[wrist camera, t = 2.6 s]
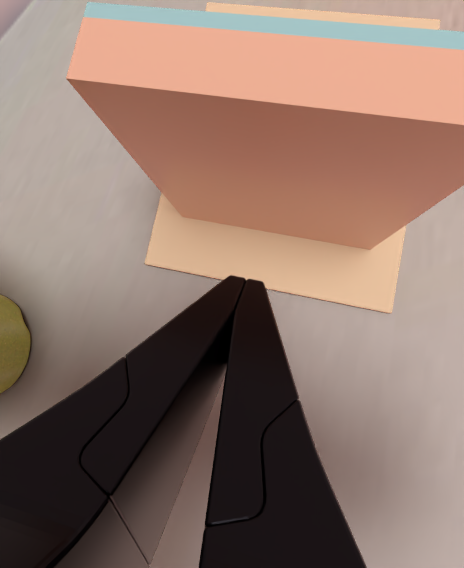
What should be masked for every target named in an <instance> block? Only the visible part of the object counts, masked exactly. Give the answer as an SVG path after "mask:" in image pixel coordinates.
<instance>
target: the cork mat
mask: <svg viewBox="0 0 464 568" xmlns="http://www.w3.org/2000/svg"><path fill="white" fill-rule="evenodd" d="M205 11H207V12H220V13H232V14H245V15H258V16H270V17H283V18H295V19H308V20H321V21H333V22H346V23H358V24H371V25H384V26H396V27H409V28H421V29H434V30H439V26H440V20H436V19H423V18H409V17H396V16H383V15H369V14H356V13H343V12H330V11H316V10H303V9H290V8H276V7H263V6H250V5H236V4H223V3H210V2H207V6H206V10H205ZM405 230H406V225H405V226H404V227H402V228H401V229H400V230H398V231H397V232H395V233H394V234H392V235H391V236H389V237H388V238H387V239H385V240H384V241H382V242H381V243H379V244H378V245H377V246H375V247H374V248H372V249H371V250H368V249H362V248H356V247H351V246H345V245H339V244H334V243H328V242H322V241H316V240H311V239H305V238H299V237H294V236H288V235H282V234H277V233H271V232H265V231H259V230H254V229H248V228H242V227H237V226H231V225H225V224H219V223H214V222H208V221H202V220H197V219H191V218H185V217H182V216H181V215H180V214H179V212H178V211H177V210H176V209H175V208H174V206H173V205H172V204H171V203H170V202H169V200H168V199H167V198H166V197H165V196H164V194H163V193H161V197H160V201H159V205H158V210H157V214H156V218H155V222H154V226H153V230H152V234H151V239H150V243H149V247H148V251H147V255H146V259H145V263H144V264H146V265H151V266H156V267H161V268H166V269H171V270H176V271H181V272H186V273H191V274H195V275H200V276H205V277H210V278H215V279H220V280H224V279H225V278H227V277H228V276H230V275H234V276H239V277H244V278H245V279H246V280H247V279H254V280H259V281H263V282H264V284H265V288H266V289H270V290H275V291H280V292H285V293H290V294H295V295H300V296H305V297H310V298H315V299H320V300H325V301H330V302H335V303H340V304H345V305H350V306H355V307H360V308H365V309H370V310H375V311H380V312H385V313H392V308H393V302H394V296H395V290H396V284H397V278H398V272H399V266H400V260H401V254H402V248H403V242H404V236H405Z"/></svg>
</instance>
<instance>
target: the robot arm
mask: <svg viewBox="0 0 464 568" xmlns="http://www.w3.org/2000/svg"><path fill="white" fill-rule="evenodd" d="M225 373H226V374H225ZM224 375H225V382H224V389H223V396H222V403H221V411H220V418H219V425H218V432H217V439H216V447H215V454H214V461H213V468H212V476H211V483H210V490H209V497H208V505H207V512H206V519H205V530H204V534H203V541H202V548H201V555H200V562H199V568H367V567H366V565H365V562H364V560H363V558H362V555H361V553H360V551H359V548H358V546H357V544H356V542H355V539H354V537H353V535H352V532H351V530H350V528H349V526H348V523H347V521H346V519H345V516H344V514H343V512H342V510H341V507H340V505H339V503H338V500H337V498H336V496H335V494H334V491H333V489H332V487H331V484H330V482H329V480H328V477H327V475H326V472H325V470H324V467H323V465H322V462H321V460H320V457H319V455H318V452H317V450H316V447H315V444H314V441H313V439H312V436H311V433H310V430H309V427H308V424H307V421H306V418H305V415H304V411H303V408H302V405H301V402H300V401H299V396H298V392H297V389H296V386H295V383H294V379H293V376H292V373H291V369H290V366H289V363H288V360H287V356H286V353H285V350H284V346H283V343H282V340H281V337H280V333H279V330H278V327H277V324H276V320H275V317H274V314H273V310H272V307H271V304H270V301H269V297H268V294H267V291H266V288H265V284H264V282H263V281H259V280H254V279H247V280H246V279H245V278H244V277H239V276H234V275H230V276H228V277H227V278H225V279H224V280H223V281H221V282H220V283H219V284H217V285H216V286H215V287H214V288H212V289H211V290H210V291H208V292H207V293H206V294H204V295H203V296H202V297H201V298H199V299H198V300H197V301H195V302H194V303H193V304H191V305H190V306H189V307H188V308H186V309H185V310H184V311H182V312H181V313H180V314H178V315H177V316H176V317H174V318H173V319H172V320H171V321H169V322H168V323H167V324H165V325H164V326H163V327H161V328H160V329H159V330H158V331H156V332H155V333H154V334H152V335H151V336H150V337H148V338H147V339H146V340H145V341H143V342H142V343H141V344H139V345H138V346H137V347H135V348H134V349H133V350H132V351H130V352H129V353H128V354H126V358H125V357H122V358H121V359H120V360H118V361H117V362H116V363H114V364H113V365H112V366H110V367H109V368H108V369H106V370H105V371H104V372H102V373H101V374H100V375H98V376H97V377H95V378H94V379H93V380H91V381H90V382H89V383H87V384H86V385H85V386H83V387H82V388H80V389H79V390H77V391H76V392H74V393H72V394H71V395H69V396H68V397H66V398H65V399H63V400H62V401H60V402H59V403H57V404H56V405H54V406H53V407H51V408H50V409H48V410H46V411H45V412H43V413H42V414H40V415H39V416H37V417H35V418H34V419H32V420H31V421H29V422H27V423H26V424H24V425H23V426H21V427H20V428H18V429H16V430H15V431H13V432H12V433H10V434H9V435H7V436H5V437H4V438H2V439H1V440H0V568H149V565H148V564H150V563H151V561H152V559H153V556H154V553H155V551H156V548H157V546H158V543H159V541H160V538H161V536H162V533H163V531H164V528H165V525H166V523H167V520H168V518H169V515H170V513H171V510H172V508H173V505H174V503H175V500H176V497H177V495H178V492H179V490H180V487H181V485H182V482H183V480H184V477H185V475H186V472H187V470H188V467H189V464H190V462H191V459H192V457H193V454H194V452H195V449H196V447H197V444H198V442H199V439H200V436H201V434H202V431H203V429H204V426H205V424H206V421H207V419H208V416H209V414H210V411H211V408H212V406H213V403H214V401H215V398H216V396H217V393H218V391H219V388H220V386H221V383H222V381H223V378H224Z"/></svg>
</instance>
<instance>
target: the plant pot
mask: <svg viewBox="0 0 464 568" xmlns="http://www.w3.org/2000/svg"><path fill="white" fill-rule="evenodd" d="M29 351H30V333H29V330H28V329H27V327H26V325H25V323H24V321H23V318H22V315H21V310H20V308H19V307H18V306H17V305H16V304H15V303H14V302H13V301H11V300H10V299H8V298H7V297H5V296H3V295H0V394H1V393H2V392H4V391H5V390H7V389H8V388H10V387H11V386H12V385H13V384H14V383H15V382H16V380H17V379H18V378H19V376H20V375H21V373H22V371H23V369H24V367H25V365H26V363H27V360H28V356H29Z"/></svg>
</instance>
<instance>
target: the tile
mask: <svg viewBox="0 0 464 568" xmlns="http://www.w3.org/2000/svg"><path fill="white" fill-rule="evenodd" d="M66 79H67V80H68V81H69V82H70V84H71V85H72V86H73V87H74V88H75V90H76V91H77V92H78V93H79V94H80V95H81V97H82V98H83V99H84V100H85V101H86V103H87V104H88V105H89V106H90V107H91V109H92V110H93V111H94V112H95V113H96V115H97V116H98V117H99V118H100V119H101V121H102V122H103V123H104V124H105V125H106V126H107V128H108V129H109V130H110V131H111V132H112V134H113V135H114V136H115V137H116V138H117V140H118V141H119V142H120V143H121V144H122V146H123V147H124V148H125V149H126V150H127V152H128V153H129V154H130V155H131V156H132V158H133V159H134V160H135V161H136V162H137V163H138V165H139V166H140V167H141V168H142V169H143V171H144V172H145V173H146V174H147V175H148V177H149V178H150V179H151V180H152V181H153V183H154V184H155V185H156V186H157V187H158V189H159V190H160V191H161V192H162V193H163V194H164V196H165V197H166V198H167V199H168V200H169V202H170V203H171V204H172V205H173V206H174V208H175V209H176V210H177V211H178V212H179V214H180V215H181V216H182V217H185V218H191V219H197V220H202V221H208V222H214V223H219V224H225V225H231V226H237V227H242V228H248V229H254V230H259V231H265V232H271V233H277V234H282V235H288V236H294V237H299V238H305V239H311V240H316V241H322V242H328V243H334V244H339V245H345V246H351V247H356V248H362V249H368V250H371V249H372V248H374V247H375V246H377V245H378V244H379V243H381V242H382V241H384V240H385V239H387V238H388V237H389V236H391V235H392V234H394V233H395V232H397V231H398V230H400V229H401V228H402V227H404V226H405V225H407V224H408V223H410V222H411V221H412V220H414V219H415V218H417V217H418V216H420V215H421V214H423V213H424V212H425V211H427V210H428V209H430V208H431V207H433V206H434V205H435V204H437V203H438V202H440V201H441V200H443V199H444V198H446V197H447V196H448V195H450V194H451V193H453V192H454V191H456V190H457V189H458V188H460V187H461V186H463V185H464V32H459V31H447V30H434V29H421V28H409V27H396V26H384V25H371V24H358V23H346V22H333V21H321V20H308V19H295V18H283V17H270V16H258V15H245V14H232V13H220V12H207V11H195V10H182V9H169V8H157V7H144V6H132V5H119V4H106V3H94V2H87V5H86V9H85V12H84V16H83V19H82V23H81V27H80V30H79V34H78V37H77V41H76V45H75V48H74V52H73V55H72V59H71V63H70V66H69V70H68V73H67V77H66Z"/></svg>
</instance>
